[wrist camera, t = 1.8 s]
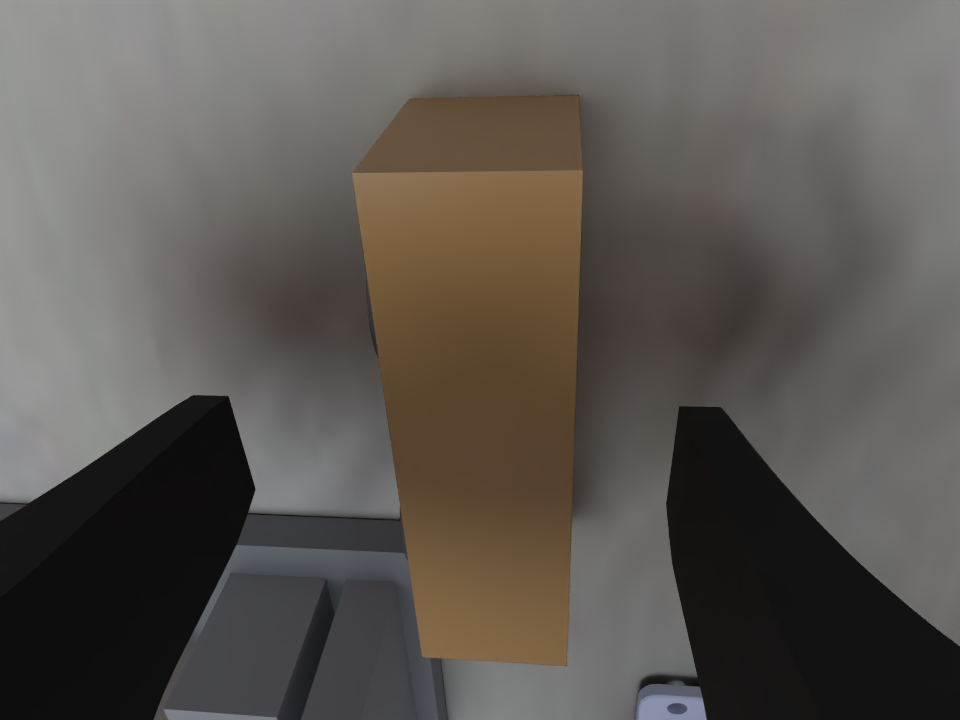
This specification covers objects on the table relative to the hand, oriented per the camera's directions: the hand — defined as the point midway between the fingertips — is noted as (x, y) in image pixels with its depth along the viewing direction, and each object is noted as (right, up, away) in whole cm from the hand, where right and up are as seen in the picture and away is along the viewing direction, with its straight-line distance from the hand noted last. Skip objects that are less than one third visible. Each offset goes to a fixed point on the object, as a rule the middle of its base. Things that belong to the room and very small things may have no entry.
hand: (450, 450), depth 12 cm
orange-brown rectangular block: (+1, +2, +3) cm, 4 cm away
